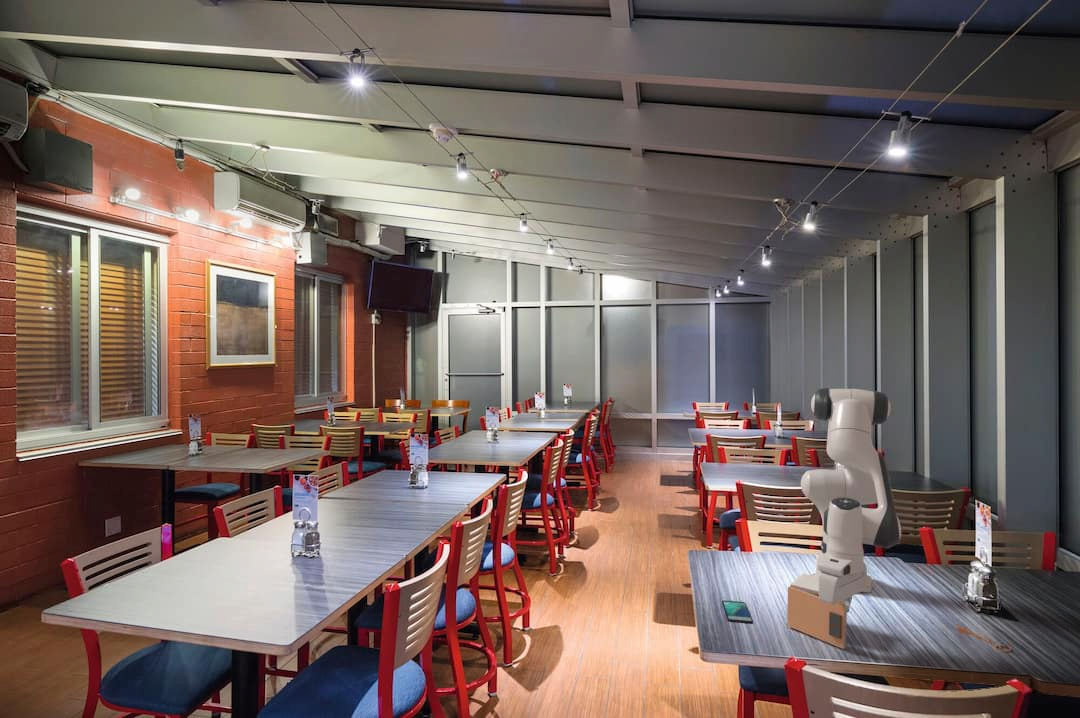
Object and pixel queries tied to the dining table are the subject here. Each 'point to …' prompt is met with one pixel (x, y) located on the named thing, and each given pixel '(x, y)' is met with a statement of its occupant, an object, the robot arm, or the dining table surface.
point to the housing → (808, 585)
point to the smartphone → (737, 612)
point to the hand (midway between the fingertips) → (843, 612)
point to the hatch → (816, 617)
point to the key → (982, 638)
